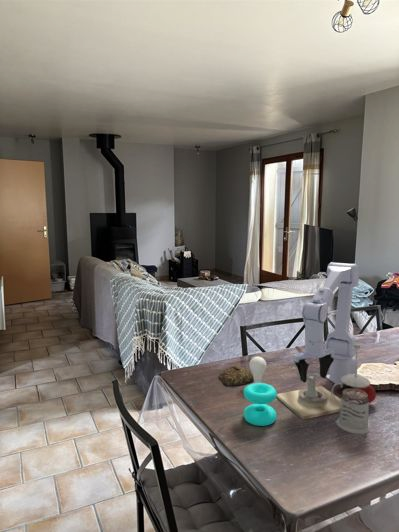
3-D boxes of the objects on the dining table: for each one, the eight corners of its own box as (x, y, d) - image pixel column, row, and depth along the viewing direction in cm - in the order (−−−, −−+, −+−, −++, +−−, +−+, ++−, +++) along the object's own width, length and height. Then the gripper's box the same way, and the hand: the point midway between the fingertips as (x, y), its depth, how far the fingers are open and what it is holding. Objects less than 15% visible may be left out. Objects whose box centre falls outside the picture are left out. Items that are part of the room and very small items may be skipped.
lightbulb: (265, 390, 143) (266, 360, 142) (248, 389, 145) (248, 359, 143) (266, 383, 149) (266, 354, 148) (250, 381, 151) (250, 353, 149)
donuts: (236, 386, 124) (261, 378, 130) (237, 416, 126) (261, 407, 131) (258, 399, 116) (283, 390, 121) (258, 431, 117) (283, 421, 123)
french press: (368, 437, 113) (372, 351, 110) (326, 426, 120) (328, 344, 116) (374, 421, 122) (378, 341, 118) (334, 411, 128) (337, 335, 124)
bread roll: (257, 383, 150) (257, 370, 149) (227, 388, 146) (227, 375, 145) (242, 370, 162) (242, 358, 161) (213, 375, 158) (213, 363, 157)
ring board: (321, 388, 144) (321, 380, 144) (351, 409, 129) (351, 400, 129) (276, 396, 138) (276, 388, 138) (302, 419, 123) (303, 410, 123)
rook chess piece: (302, 396, 136) (302, 374, 135) (314, 395, 137) (315, 373, 135) (307, 402, 132) (307, 379, 130) (320, 401, 132) (321, 378, 131)
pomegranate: (374, 401, 134) (375, 378, 133) (375, 409, 129) (377, 385, 127) (355, 398, 136) (356, 376, 135) (356, 406, 131) (357, 383, 129)
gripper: (325, 333, 137) (324, 371, 139) (287, 338, 132) (287, 378, 134) (338, 339, 130) (337, 379, 132) (300, 345, 125) (299, 386, 127)
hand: (313, 379), depth 133 cm, fingers open, 7 cm apart
